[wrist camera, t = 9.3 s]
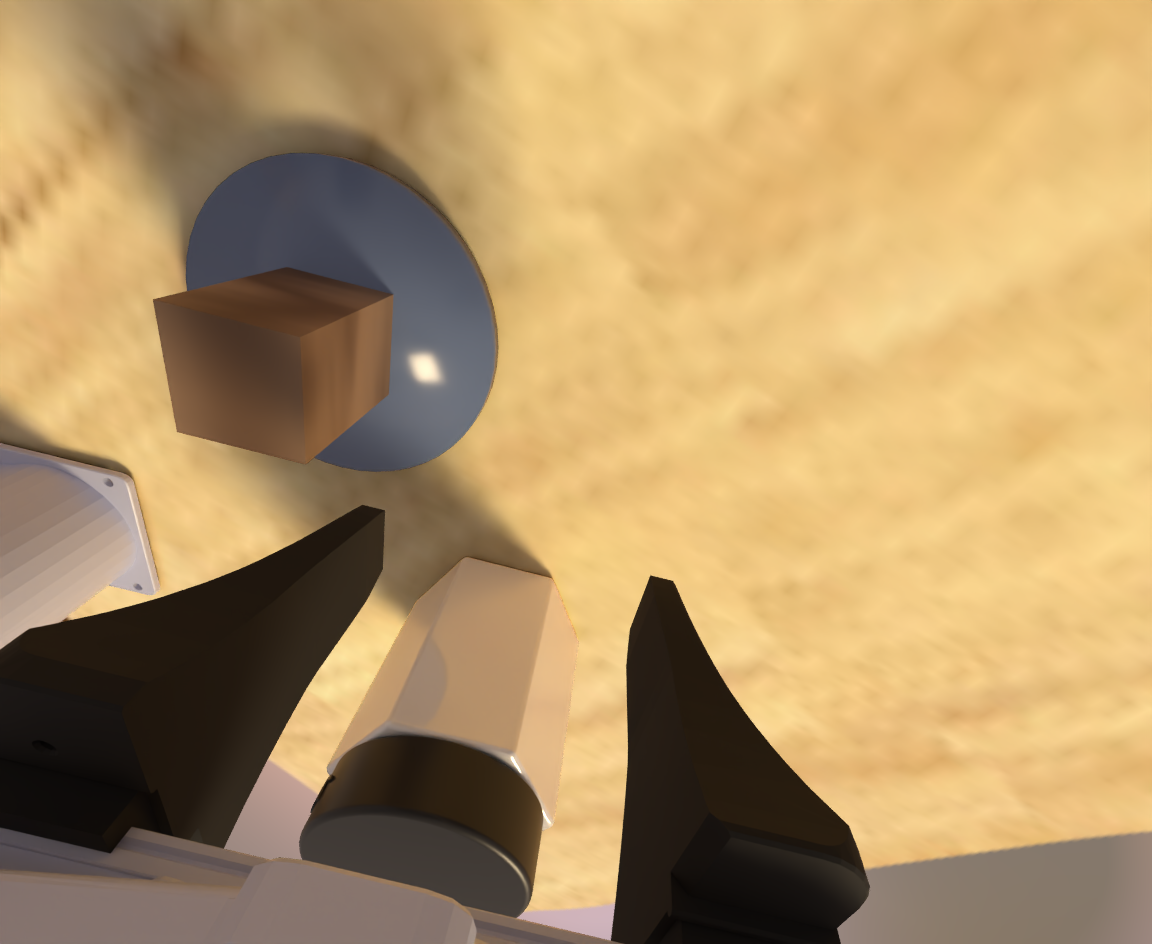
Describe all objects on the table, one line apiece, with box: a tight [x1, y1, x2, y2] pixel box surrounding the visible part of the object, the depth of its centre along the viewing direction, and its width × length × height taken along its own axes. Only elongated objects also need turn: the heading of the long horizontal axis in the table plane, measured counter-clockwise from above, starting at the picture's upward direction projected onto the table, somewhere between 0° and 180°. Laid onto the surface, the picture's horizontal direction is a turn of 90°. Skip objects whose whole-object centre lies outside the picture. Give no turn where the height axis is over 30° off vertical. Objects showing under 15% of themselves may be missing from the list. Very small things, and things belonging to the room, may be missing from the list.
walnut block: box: [153, 267, 394, 464], centre depth 17 cm, size 4×4×6 cm
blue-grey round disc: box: [186, 153, 498, 472], centre depth 21 cm, size 12×12×1 cm
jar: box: [299, 557, 579, 918], centre depth 23 cm, size 9×8×12 cm
